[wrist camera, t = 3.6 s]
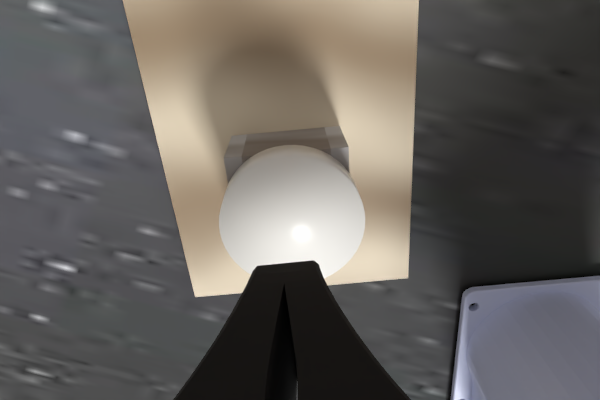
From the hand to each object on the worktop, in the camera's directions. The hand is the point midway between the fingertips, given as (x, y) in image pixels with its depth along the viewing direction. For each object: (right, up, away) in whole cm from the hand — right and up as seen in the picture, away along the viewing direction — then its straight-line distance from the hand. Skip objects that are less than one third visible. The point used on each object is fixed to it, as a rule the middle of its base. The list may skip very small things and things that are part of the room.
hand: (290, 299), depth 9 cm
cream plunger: (0, +3, +8) cm, 9 cm away
